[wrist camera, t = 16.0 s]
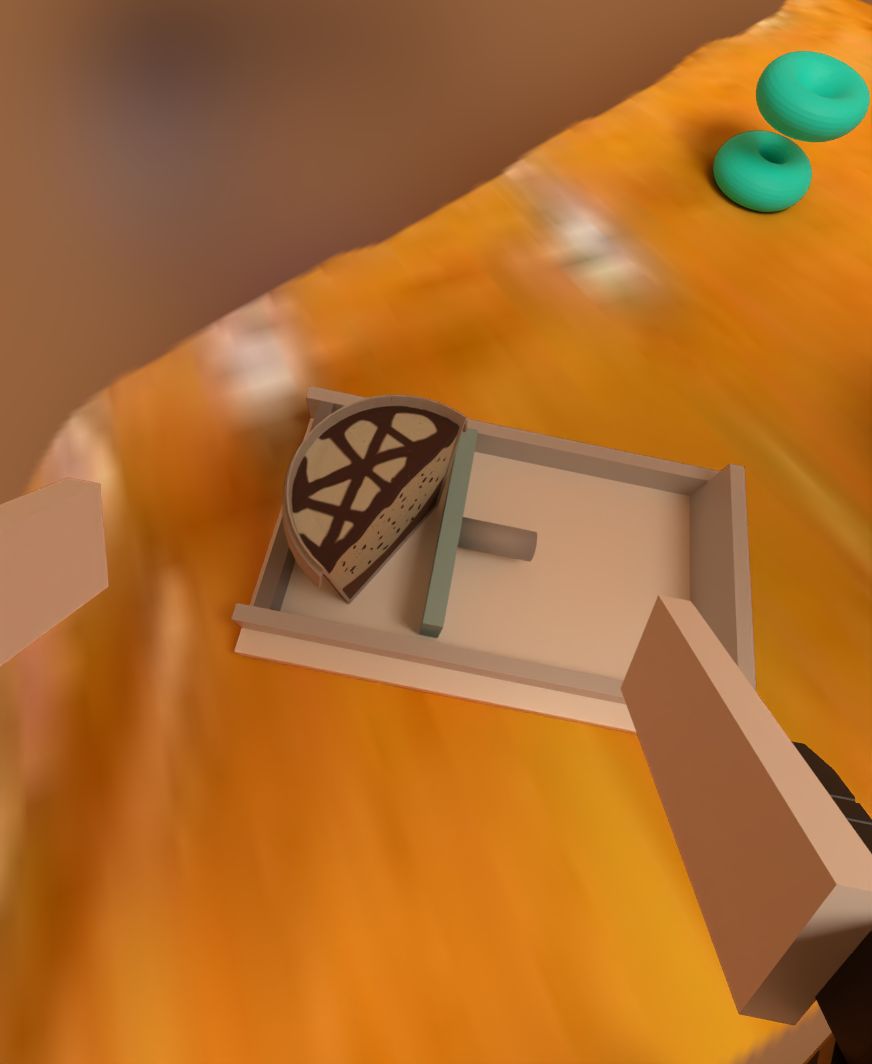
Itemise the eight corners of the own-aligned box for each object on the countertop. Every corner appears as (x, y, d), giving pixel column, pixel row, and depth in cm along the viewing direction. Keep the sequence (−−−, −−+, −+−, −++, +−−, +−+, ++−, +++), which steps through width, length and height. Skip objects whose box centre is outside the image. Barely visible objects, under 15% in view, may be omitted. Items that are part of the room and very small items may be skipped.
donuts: (761, 86, 46) (779, 31, 50) (698, 196, 55) (717, 143, 59) (872, 126, 45) (883, 67, 49) (789, 231, 54) (803, 175, 58)
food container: (385, 442, 39) (386, 348, 30) (451, 491, 38) (472, 410, 29) (263, 563, 35) (219, 497, 25) (333, 622, 34) (314, 576, 24)
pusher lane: (691, 479, 42) (742, 435, 36) (693, 745, 34) (759, 746, 28) (321, 402, 41) (310, 344, 35) (240, 655, 34) (209, 636, 28)
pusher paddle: (536, 469, 39) (550, 445, 36) (514, 653, 34) (528, 644, 30) (454, 452, 39) (460, 426, 35) (419, 634, 33) (422, 622, 30)
